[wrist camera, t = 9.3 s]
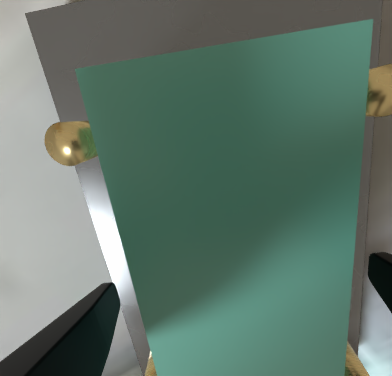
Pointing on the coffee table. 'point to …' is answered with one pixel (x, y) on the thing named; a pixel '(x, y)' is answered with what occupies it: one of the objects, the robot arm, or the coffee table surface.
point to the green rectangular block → (238, 196)
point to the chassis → (168, 43)
